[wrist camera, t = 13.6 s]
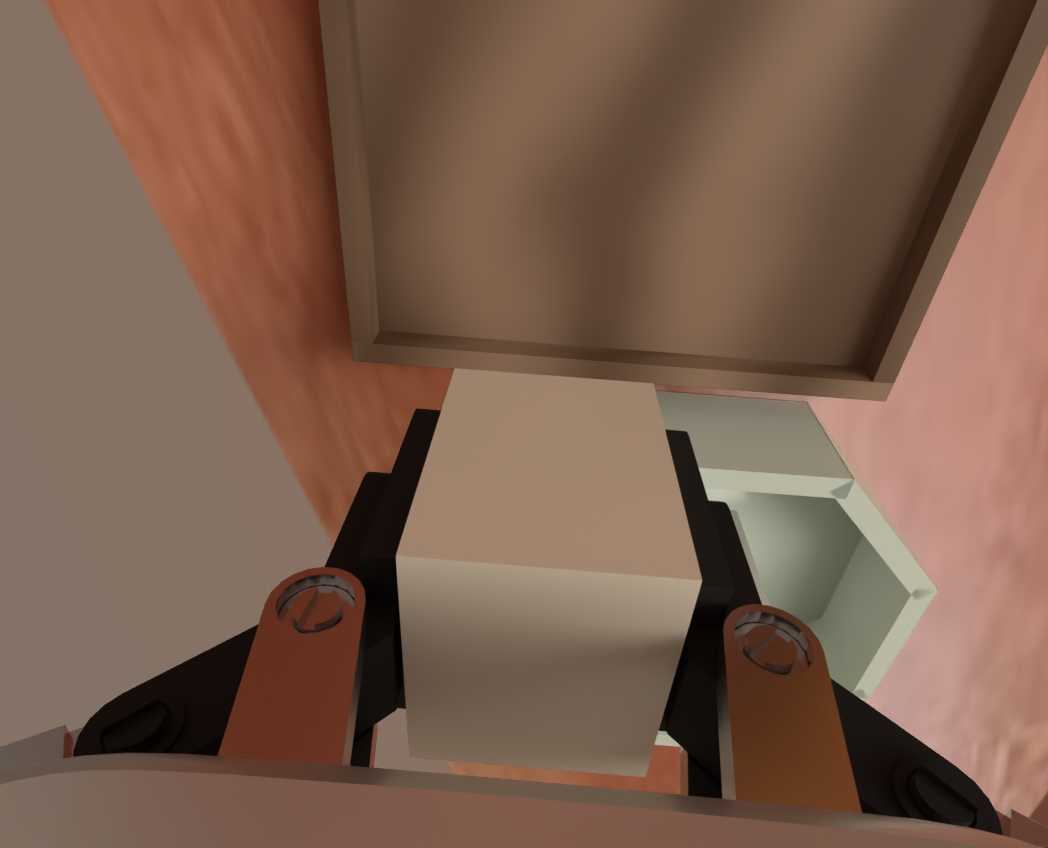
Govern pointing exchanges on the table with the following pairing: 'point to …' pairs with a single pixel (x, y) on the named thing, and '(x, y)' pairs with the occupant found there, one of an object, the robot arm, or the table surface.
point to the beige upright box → (544, 576)
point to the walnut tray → (664, 180)
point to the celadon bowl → (808, 528)
